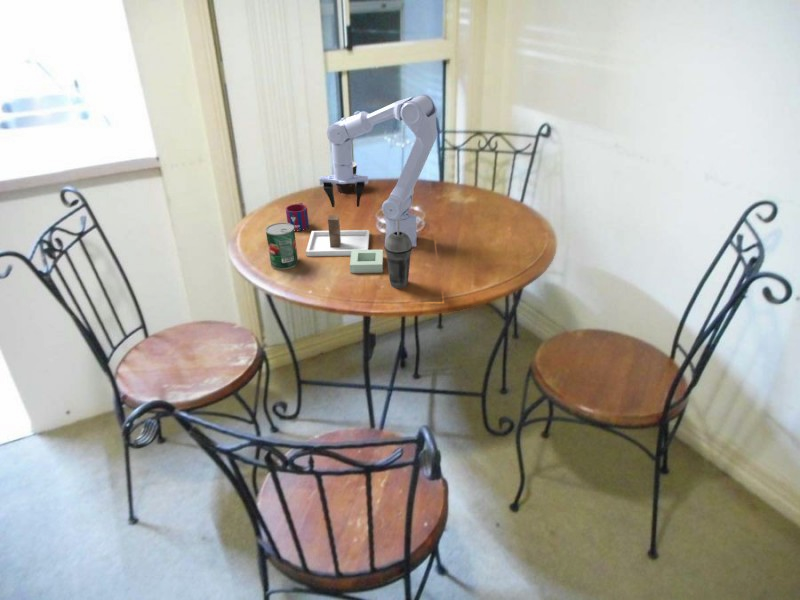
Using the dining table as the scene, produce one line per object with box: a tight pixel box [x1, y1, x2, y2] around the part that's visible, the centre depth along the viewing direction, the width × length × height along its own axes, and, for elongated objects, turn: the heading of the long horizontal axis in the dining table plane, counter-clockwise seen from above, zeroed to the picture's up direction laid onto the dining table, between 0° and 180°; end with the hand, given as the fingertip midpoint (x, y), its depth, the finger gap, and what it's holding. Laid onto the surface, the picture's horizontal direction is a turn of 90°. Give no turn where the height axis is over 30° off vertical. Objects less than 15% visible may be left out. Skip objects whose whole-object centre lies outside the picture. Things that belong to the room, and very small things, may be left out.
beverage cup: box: [384, 218, 413, 289], centre depth 147 cm, size 7×7×20 cm
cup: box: [285, 202, 310, 232], centre depth 184 cm, size 7×10×7 cm
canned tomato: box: [265, 222, 299, 270], centre depth 161 cm, size 8×8×11 cm
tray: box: [305, 229, 370, 257], centre depth 172 cm, size 18×14×2 cm
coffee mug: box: [335, 160, 358, 195], centre depth 208 cm, size 12×9×10 cm
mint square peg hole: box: [349, 249, 384, 274], centre depth 161 cm, size 9×9×3 cm
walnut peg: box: [327, 214, 341, 247], centre depth 170 cm, size 3×3×9 cm
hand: (345, 205), depth 175 cm, fingers open, 7 cm apart
